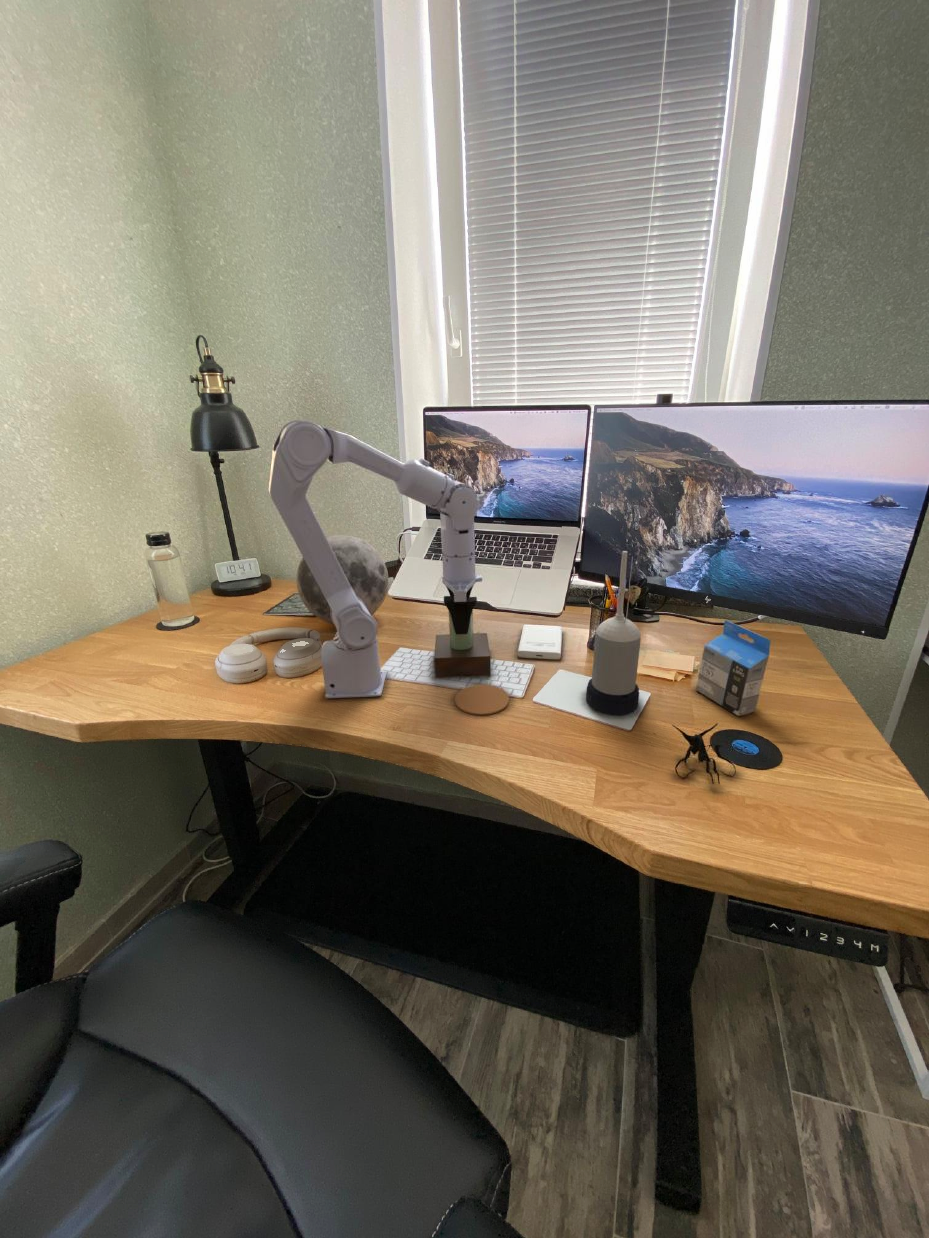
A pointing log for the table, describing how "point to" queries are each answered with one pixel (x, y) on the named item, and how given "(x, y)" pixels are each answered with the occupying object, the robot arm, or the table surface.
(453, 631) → the sage green cylinder
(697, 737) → the creature
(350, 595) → the robot arm
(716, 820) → the table surface
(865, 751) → the table surface
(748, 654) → the label tape box
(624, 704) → the humidifier
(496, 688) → the coaster
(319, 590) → the moon model
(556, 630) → the hard drive
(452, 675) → the stand
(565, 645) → the table surface
